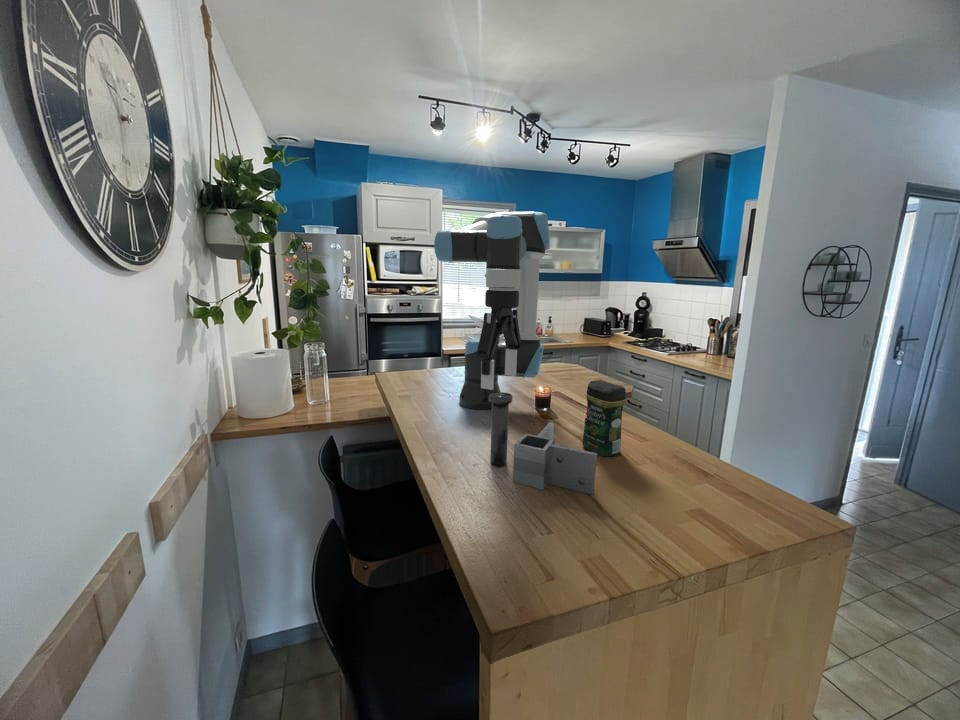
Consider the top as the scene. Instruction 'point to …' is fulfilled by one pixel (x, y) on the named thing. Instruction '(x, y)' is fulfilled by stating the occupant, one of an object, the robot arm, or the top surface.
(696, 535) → the top surface
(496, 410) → the pin
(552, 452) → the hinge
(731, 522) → the top surface
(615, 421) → the coffee jar
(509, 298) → the robot arm
